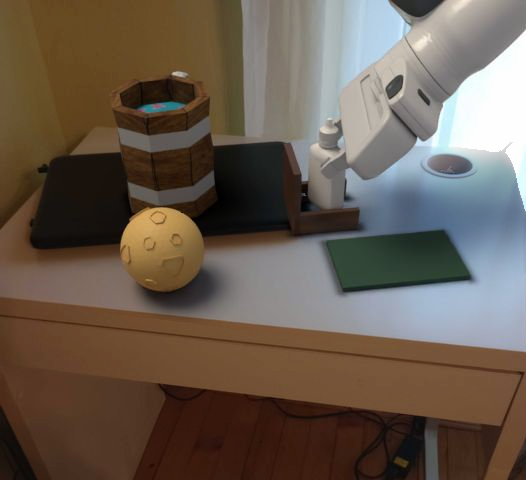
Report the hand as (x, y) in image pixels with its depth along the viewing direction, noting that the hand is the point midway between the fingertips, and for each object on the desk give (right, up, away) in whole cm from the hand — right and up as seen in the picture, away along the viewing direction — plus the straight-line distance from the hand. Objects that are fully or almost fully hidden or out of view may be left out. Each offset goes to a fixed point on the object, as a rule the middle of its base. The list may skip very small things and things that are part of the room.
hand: (322, 160), depth 82 cm
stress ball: (-20, -17, -4) cm, 26 cm away
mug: (-21, 0, +12) cm, 24 cm away
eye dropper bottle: (+1, -5, +5) cm, 7 cm away
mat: (+9, -13, -2) cm, 16 cm away
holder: (+1, -6, +6) cm, 8 cm away
